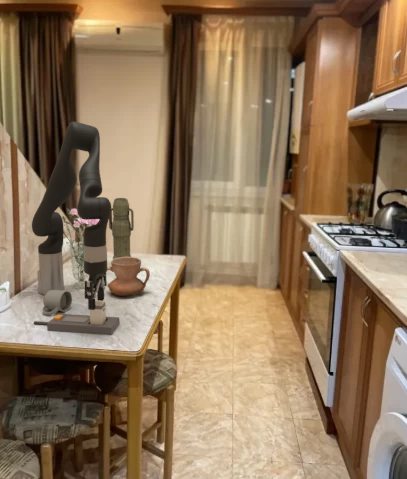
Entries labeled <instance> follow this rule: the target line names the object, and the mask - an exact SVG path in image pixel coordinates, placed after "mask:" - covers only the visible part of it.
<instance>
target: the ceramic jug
mask: <svg viewBox="0 0 407 479" xmlns="http://www.w3.org/2000/svg"><path fill="white" fill-rule="evenodd" d="M110 263H111V266H110V265H109V266H108V265H107V271H111V272H112V273H113V274H114V276H115V277H116V278H114V279H113V280H111V281H110V282H109V283H108V284H107V288H108V289H109V291H110V293H112V294H113V295H116V296H120V297H131V296H134V295H138V294H139V293H140V294H141V292H143V291H144V289H145V288H146V286H147V285H146V284H147V282H149V280H150V276H151V274H150V273H151V272H150V270H149V268H148V267H141V266H142V259H141V258H138V257H134V256H131V257H120V258H115V259H113V258H112V260H111V261H110ZM141 272H145V273H146V278H145V280H144V282H143V281H142V280H141V279H140V278H138V277H137V276H138V274H140V273H141Z"/></svg>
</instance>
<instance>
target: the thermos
mask: <svg viewBox="0 0 407 479" xmlns="http://www.w3.org/2000/svg"><path fill="white" fill-rule="evenodd" d="M112 202H113V203H112V207H111V213H110V216H109V220H108V223H109V224H108V227H109V230H111V235H112V237H113V238H112V239H113V241H112V242H113V256H112V260H113V259H115V258H120V257H132V255H131V235H132V231H134V223H135V222H134V210H133V209H132V208H130V203H129V201H128V198H125V197H117V198H115V199H114V200H113V201H112ZM130 213H131V214H130Z"/></svg>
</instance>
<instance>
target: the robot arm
mask: <svg viewBox="0 0 407 479" xmlns="http://www.w3.org/2000/svg"><path fill="white" fill-rule="evenodd" d="M100 146H101V137H100V132H99V129H98V128H97V127H96V126H93V125H89V124H86V123H83V122H78V121H71V122H69V123H68V126H67V128H66V130H65V133H64V137H63V140H62V144H61V148H60V150H59V155H58V157H57V161H56V163H55V165H54V168H53V170H52V173H51V174H50V178H49V181H48V184H47V187H46V189H45V191H44V194H43V197H42V199H41V202H40V203H39V206H38V208H37V210H35V211H36V212H35V213H34V215H33V218H32V221H31V230H32V232H33V234H34V235H35V236H36V237H40V238H41V237H42V238H43V237H44V238H45V237H47V238H46V239H45V240H44V241H43V242H41V243H40V244H38V246H37V249H38V251H37V252H38V268H39V270H37V272H36V274H37V286H38V288H37V289H38V294H39V295H40V294H41V295H43V296H45V294H46V293H47V292H48V291H50V290H61V291H65V282H64V263H63V262H64V260H63V245H64V221H63V220H64V219H63V217H62V215H61V214H60V213H59V212H57V209H59V207H61V206H62V205H63V204H64V203H65V202H66V201H67V200H68V199H69V198H70V197H71V196H72V194H73V191H74V189H75V187H76V186H77V181H78V182H79V189H80V190H79V192H80V193H79V197H78V203H77V206H76V212H77V215H78V217H79V218H80V219H82V220H85V221H86V220H87V221H89V220H98V222H97V223H96V224H93V225H90V226H89V225H88V226H86V227H84V229H83V250H82V252H83V254H82V255H83V272H84V273H85V274H87V275H88V280H85V281H84V299H85V300H87V308H88V310H89V311H90V310H95V308H96V306H95V301H104V300H105V290H106V287H107V286H108V284H107V272H108V270H107V267H108V249H107V228H108V223H109V216H110V213H111V208H112V202H111V201H110V199H109V198H108V197H104V196H101V195H102V193H103V184H102V178H101V173H100V171H101V170H100V162H101V161H100V160H101V159H100V155H101V150H100V149H101V147H100ZM73 150H79V151H83V152H87V153H88V157H87V159H86V160H85V162H84V163H83V164H82V165H81V167H80V169H79V172H78V176H77V173H76V170H75V167H74V164H73V160H72V153H73ZM77 179H78V180H77ZM99 196H100V197H99ZM96 298H97V299H96Z"/></svg>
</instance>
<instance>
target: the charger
mask: <svg viewBox="0 0 407 479" xmlns="http://www.w3.org/2000/svg"><path fill="white" fill-rule="evenodd" d="M106 303H107V302H106V301H104V300H103V301H99V300H95V306H96V308H95V310H89V316H90V324H95V325H104V324H105V323H106V317H107V316H106V312H107V311H106Z"/></svg>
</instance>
